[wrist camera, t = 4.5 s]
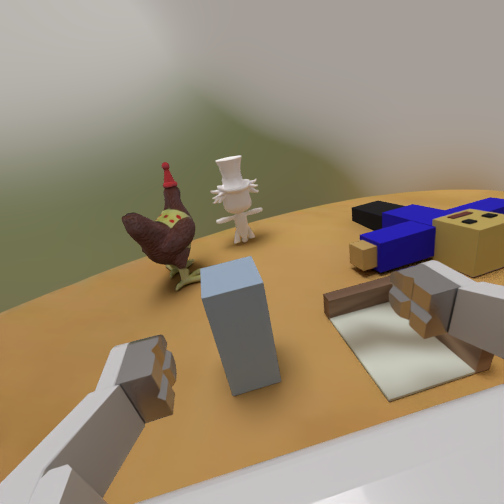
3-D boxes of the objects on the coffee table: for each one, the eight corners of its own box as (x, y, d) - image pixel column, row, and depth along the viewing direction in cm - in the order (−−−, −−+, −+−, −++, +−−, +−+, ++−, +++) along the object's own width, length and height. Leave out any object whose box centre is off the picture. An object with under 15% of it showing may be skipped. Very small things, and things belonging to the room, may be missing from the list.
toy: (422, 180, 60) (591, 194, 35) (421, 209, 62) (577, 242, 37) (302, 211, 55) (398, 253, 30) (305, 241, 57) (397, 303, 33)
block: (281, 381, 26) (263, 282, 21) (233, 396, 25) (201, 298, 20) (268, 345, 30) (250, 256, 25) (227, 357, 30) (200, 268, 25)
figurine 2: (259, 230, 63) (246, 152, 55) (273, 240, 56) (260, 153, 48) (218, 243, 60) (198, 163, 52) (228, 255, 53) (206, 166, 45)
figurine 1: (217, 256, 54) (191, 156, 45) (204, 299, 41) (163, 170, 32) (168, 263, 55) (133, 167, 46) (140, 307, 42) (83, 185, 33)
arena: (489, 368, 24) (497, 345, 22) (389, 401, 22) (391, 378, 21) (394, 293, 35) (396, 274, 33) (324, 312, 34) (323, 294, 32)
